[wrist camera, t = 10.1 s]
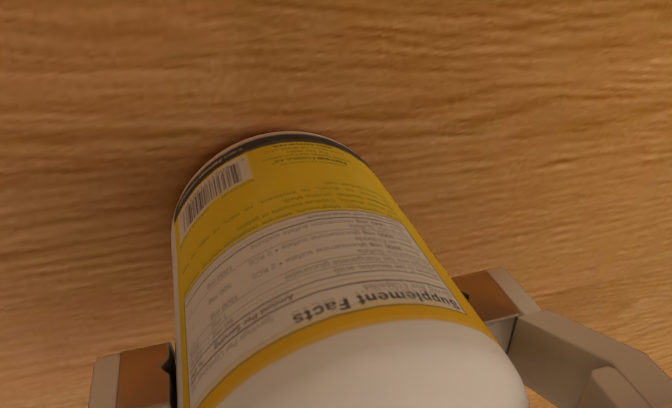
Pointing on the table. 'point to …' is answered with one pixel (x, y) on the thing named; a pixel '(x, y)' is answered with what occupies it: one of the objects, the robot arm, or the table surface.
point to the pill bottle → (318, 291)
